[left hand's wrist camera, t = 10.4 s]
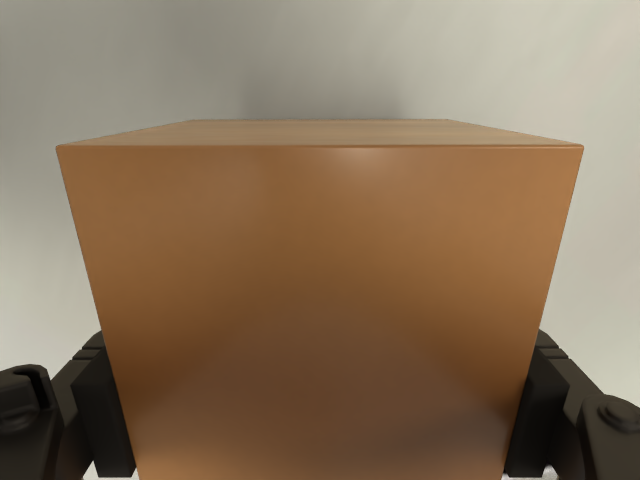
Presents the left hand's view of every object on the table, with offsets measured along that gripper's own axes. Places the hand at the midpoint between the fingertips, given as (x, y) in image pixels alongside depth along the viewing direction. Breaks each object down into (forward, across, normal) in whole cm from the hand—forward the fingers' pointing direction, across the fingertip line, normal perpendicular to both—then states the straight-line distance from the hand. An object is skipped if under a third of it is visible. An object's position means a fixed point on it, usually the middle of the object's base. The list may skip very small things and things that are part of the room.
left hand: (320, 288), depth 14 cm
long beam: (+1, 0, -26) cm, 26 cm away
